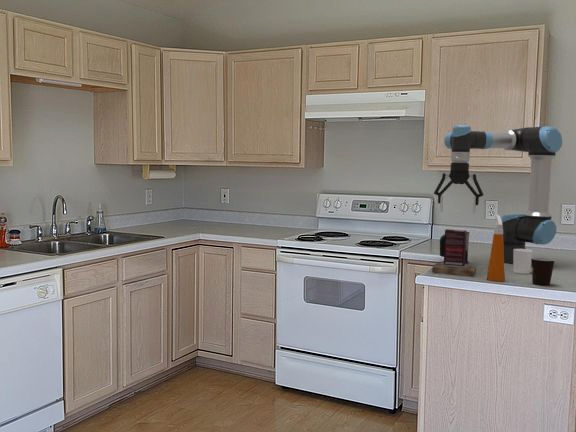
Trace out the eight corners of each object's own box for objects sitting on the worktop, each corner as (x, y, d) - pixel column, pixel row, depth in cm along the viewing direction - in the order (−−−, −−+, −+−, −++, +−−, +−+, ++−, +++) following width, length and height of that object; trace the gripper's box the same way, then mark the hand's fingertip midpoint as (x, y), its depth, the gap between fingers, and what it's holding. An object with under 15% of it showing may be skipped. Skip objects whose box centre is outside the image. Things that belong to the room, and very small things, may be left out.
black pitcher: (460, 260, 292) (462, 230, 291) (481, 266, 278) (482, 234, 276) (435, 261, 288) (437, 230, 286) (454, 267, 273) (456, 234, 272)
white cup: (535, 274, 260) (536, 251, 259) (519, 274, 258) (521, 251, 257) (523, 270, 268) (524, 248, 267) (508, 271, 266) (509, 248, 265)
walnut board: (475, 272, 261) (476, 266, 261) (473, 276, 250) (473, 270, 250) (436, 268, 268) (436, 262, 268) (432, 272, 257) (432, 267, 256)
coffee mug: (548, 287, 233) (550, 261, 232) (526, 283, 238) (527, 258, 237) (558, 283, 241) (560, 258, 240) (536, 279, 247) (538, 255, 246)
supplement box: (465, 266, 259) (467, 230, 258) (463, 268, 255) (465, 231, 253) (445, 264, 263) (446, 228, 261) (442, 266, 259) (444, 229, 257)
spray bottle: (501, 277, 251) (505, 214, 249) (506, 282, 240) (510, 216, 238) (483, 276, 252) (487, 213, 250) (488, 281, 242) (491, 216, 239)
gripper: (428, 161, 256) (426, 211, 258) (490, 162, 247) (487, 214, 249) (431, 161, 263) (429, 209, 265) (491, 162, 254) (488, 213, 256)
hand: (457, 212), depth 257 cm, fingers open, 13 cm apart
